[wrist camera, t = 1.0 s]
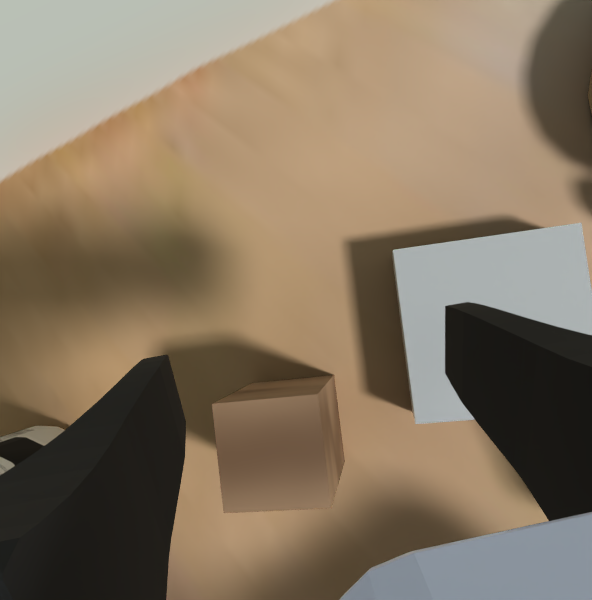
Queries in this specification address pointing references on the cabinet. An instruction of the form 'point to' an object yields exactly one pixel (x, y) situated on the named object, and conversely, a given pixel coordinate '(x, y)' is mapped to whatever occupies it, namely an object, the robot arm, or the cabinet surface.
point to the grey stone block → (484, 298)
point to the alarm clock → (590, 93)
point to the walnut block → (279, 445)
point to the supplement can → (24, 444)
